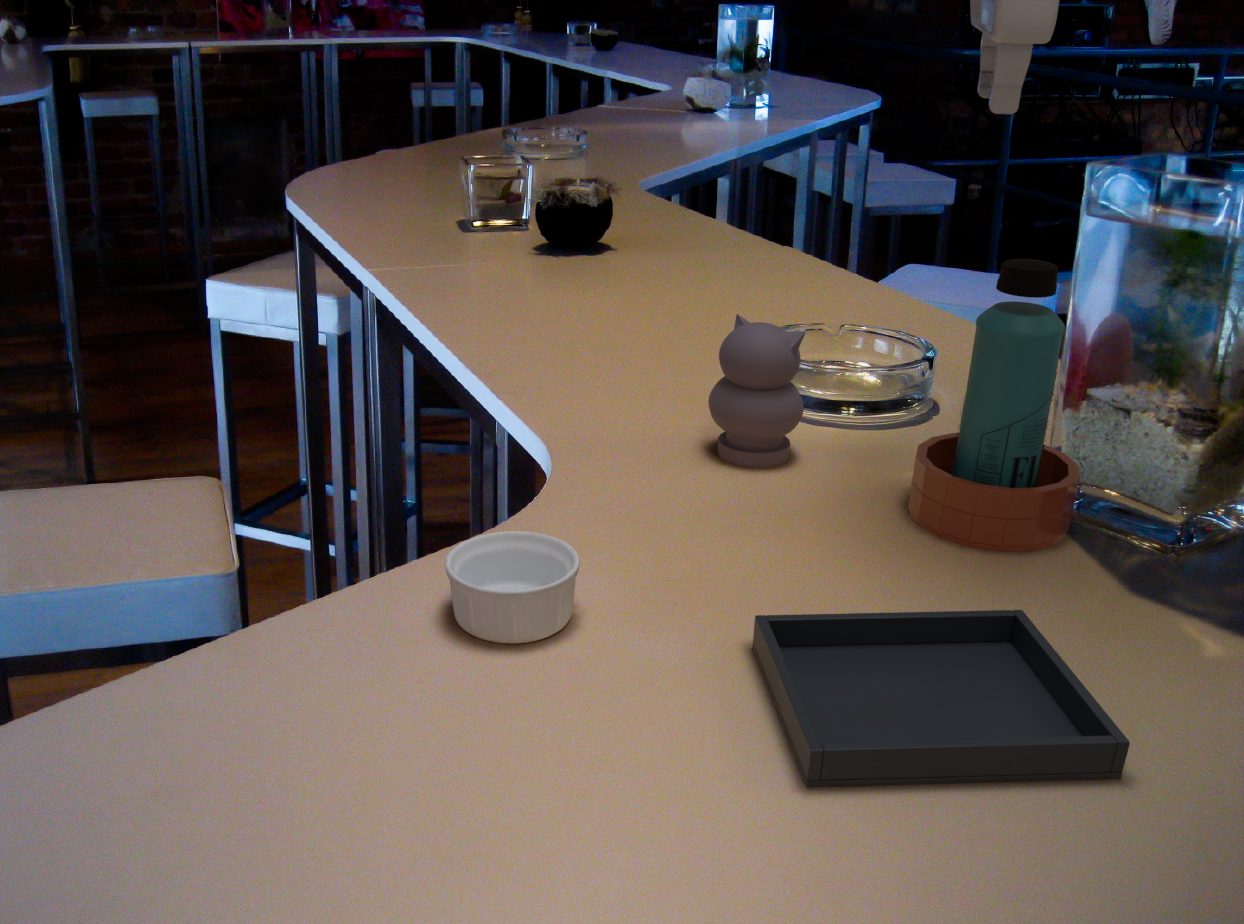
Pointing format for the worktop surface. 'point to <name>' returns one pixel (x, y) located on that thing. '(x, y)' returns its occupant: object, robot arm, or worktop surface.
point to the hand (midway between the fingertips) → (995, 104)
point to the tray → (931, 700)
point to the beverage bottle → (1011, 381)
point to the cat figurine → (757, 394)
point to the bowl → (991, 501)
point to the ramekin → (512, 585)
